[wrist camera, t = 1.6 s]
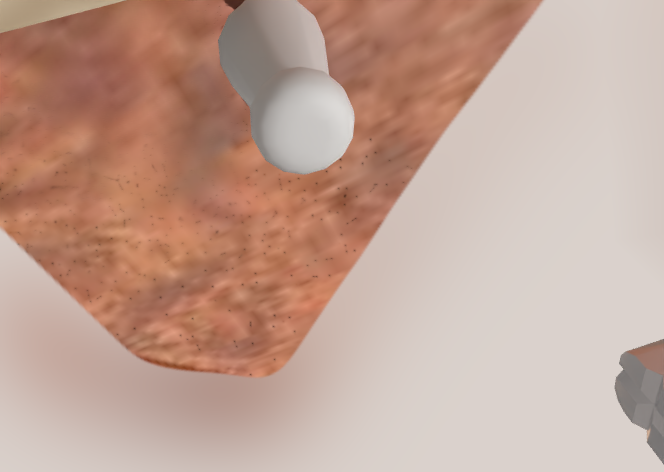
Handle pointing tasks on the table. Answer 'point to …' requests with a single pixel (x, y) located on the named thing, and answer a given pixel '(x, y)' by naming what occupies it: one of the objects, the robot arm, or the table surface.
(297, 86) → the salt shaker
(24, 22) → the socket block
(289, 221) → the table surface
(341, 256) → the table surface
